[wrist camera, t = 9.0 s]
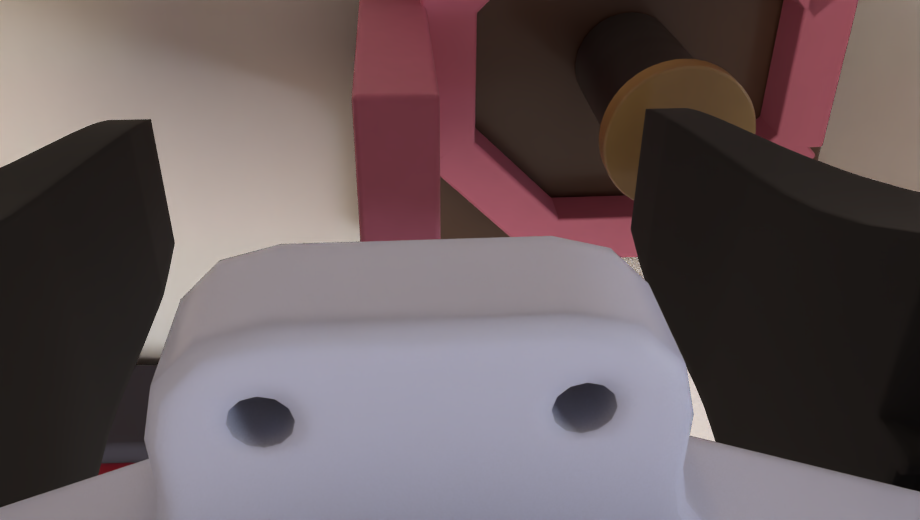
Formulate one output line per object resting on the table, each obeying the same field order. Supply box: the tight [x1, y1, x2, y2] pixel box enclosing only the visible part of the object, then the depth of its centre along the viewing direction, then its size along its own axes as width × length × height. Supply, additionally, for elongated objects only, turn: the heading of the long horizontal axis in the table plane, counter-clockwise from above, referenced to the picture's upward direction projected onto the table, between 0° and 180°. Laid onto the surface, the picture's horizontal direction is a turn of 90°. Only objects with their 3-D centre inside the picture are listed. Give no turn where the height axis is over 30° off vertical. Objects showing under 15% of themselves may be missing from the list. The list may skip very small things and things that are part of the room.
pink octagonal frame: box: [352, 0, 858, 257], centre depth 15 cm, size 9×8×5 cm
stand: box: [440, 0, 821, 239], centre depth 16 cm, size 9×9×5 cm
